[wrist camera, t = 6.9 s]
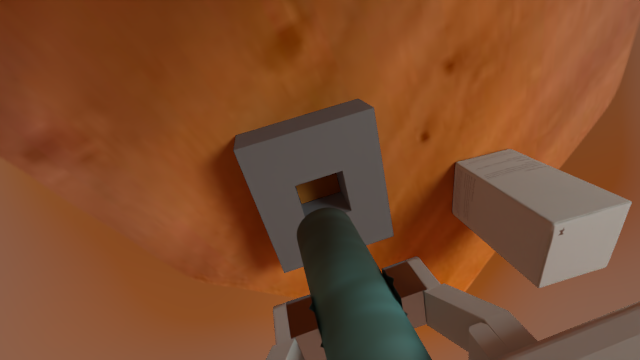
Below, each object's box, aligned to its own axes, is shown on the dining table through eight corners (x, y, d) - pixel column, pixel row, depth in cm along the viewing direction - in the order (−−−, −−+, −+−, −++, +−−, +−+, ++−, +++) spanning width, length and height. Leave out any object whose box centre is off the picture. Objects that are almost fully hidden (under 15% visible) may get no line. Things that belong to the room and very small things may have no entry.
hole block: (358, 98, 28) (373, 107, 24) (379, 215, 35) (393, 236, 31) (235, 135, 27) (233, 150, 24) (281, 248, 34) (284, 272, 30)
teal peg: (346, 199, 15) (492, 432, 6) (356, 245, 16) (487, 488, 7) (289, 218, 15) (353, 490, 6) (304, 262, 16) (375, 537, 7)
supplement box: (450, 214, 37) (535, 291, 26) (454, 160, 33) (554, 222, 22) (503, 200, 38) (608, 269, 27) (512, 147, 34) (637, 200, 23)
